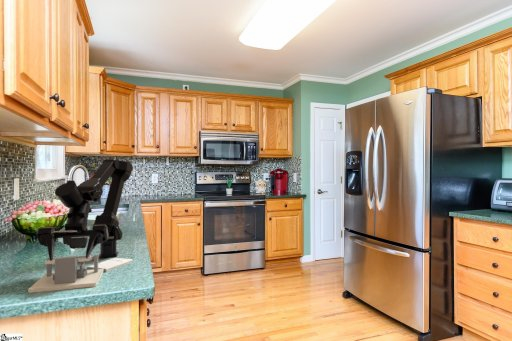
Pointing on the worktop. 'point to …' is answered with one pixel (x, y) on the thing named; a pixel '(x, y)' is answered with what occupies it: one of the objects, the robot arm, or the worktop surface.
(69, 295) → the worktop surface
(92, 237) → the robot arm
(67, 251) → the worktop surface
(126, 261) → the external hard drive
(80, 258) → the brushed grey panel
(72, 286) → the board
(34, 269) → the worktop surface
